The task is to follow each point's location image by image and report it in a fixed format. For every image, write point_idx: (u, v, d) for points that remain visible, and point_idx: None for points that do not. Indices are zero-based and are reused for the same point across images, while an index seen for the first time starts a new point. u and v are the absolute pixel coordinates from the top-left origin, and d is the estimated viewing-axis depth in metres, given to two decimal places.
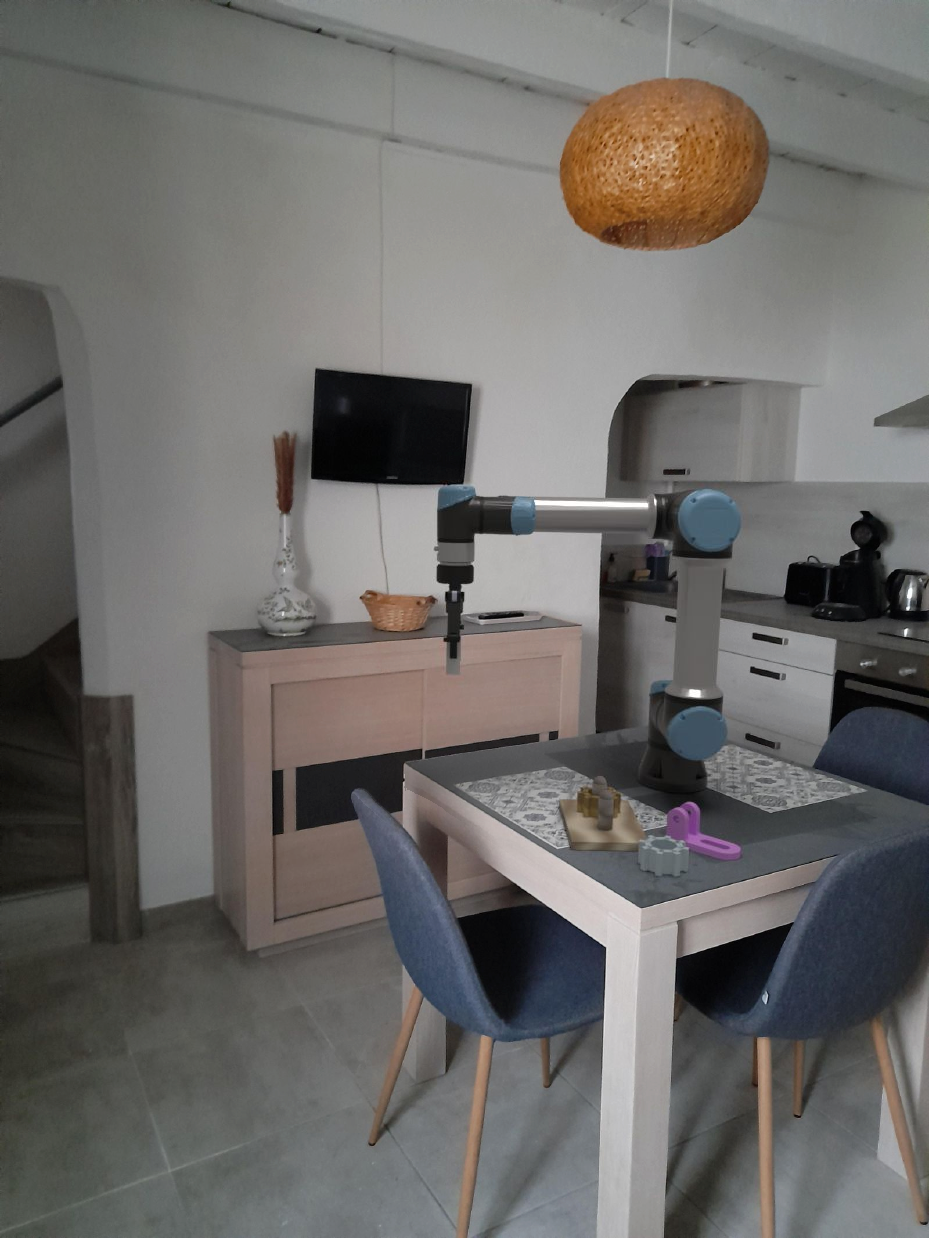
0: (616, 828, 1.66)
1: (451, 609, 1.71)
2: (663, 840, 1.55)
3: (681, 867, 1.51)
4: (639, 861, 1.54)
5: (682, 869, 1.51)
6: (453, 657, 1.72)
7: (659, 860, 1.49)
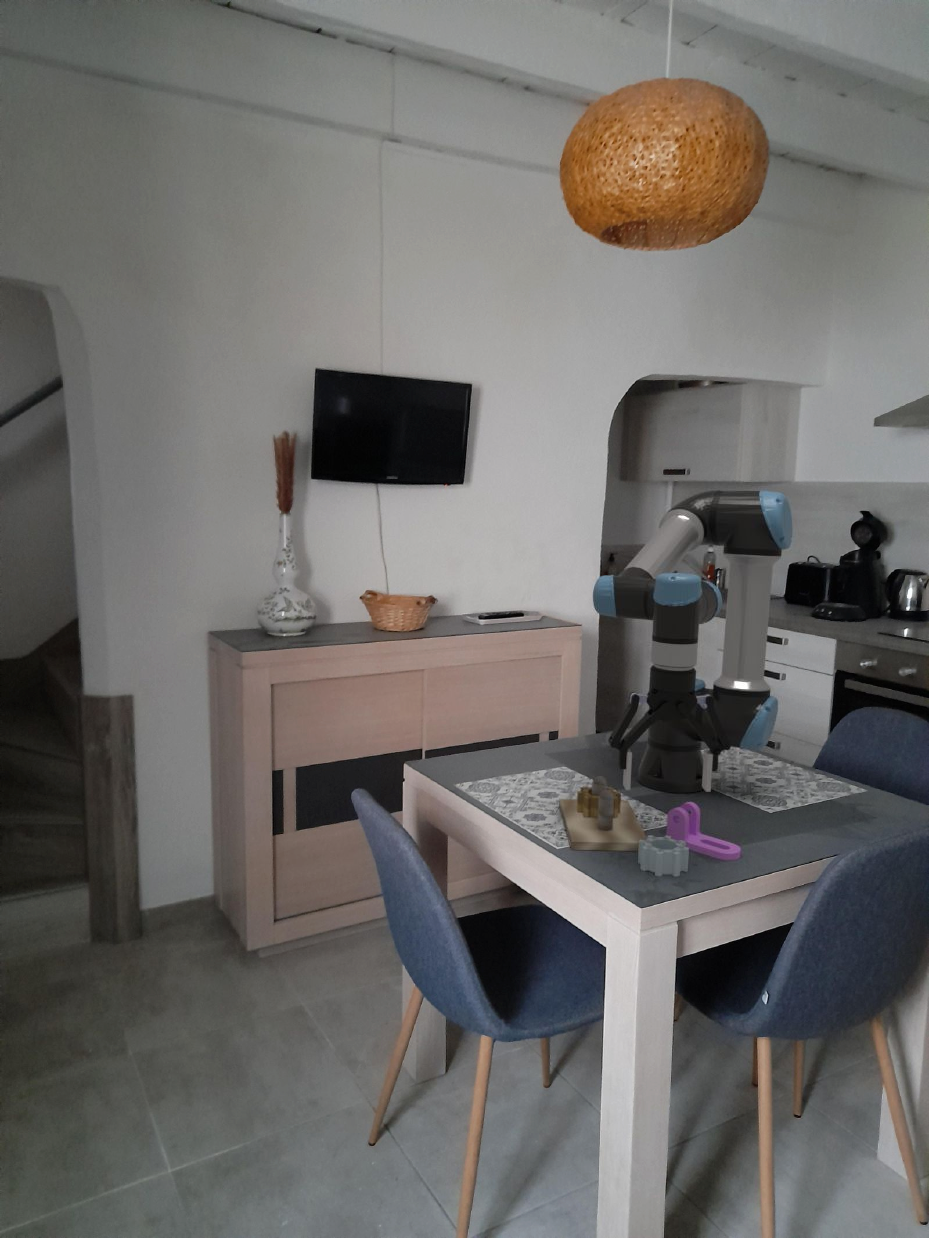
0: (616, 828, 1.66)
1: (624, 712, 1.49)
2: (663, 840, 1.55)
3: (681, 867, 1.51)
4: (639, 861, 1.54)
5: (682, 869, 1.51)
6: (619, 766, 1.50)
7: (659, 860, 1.49)
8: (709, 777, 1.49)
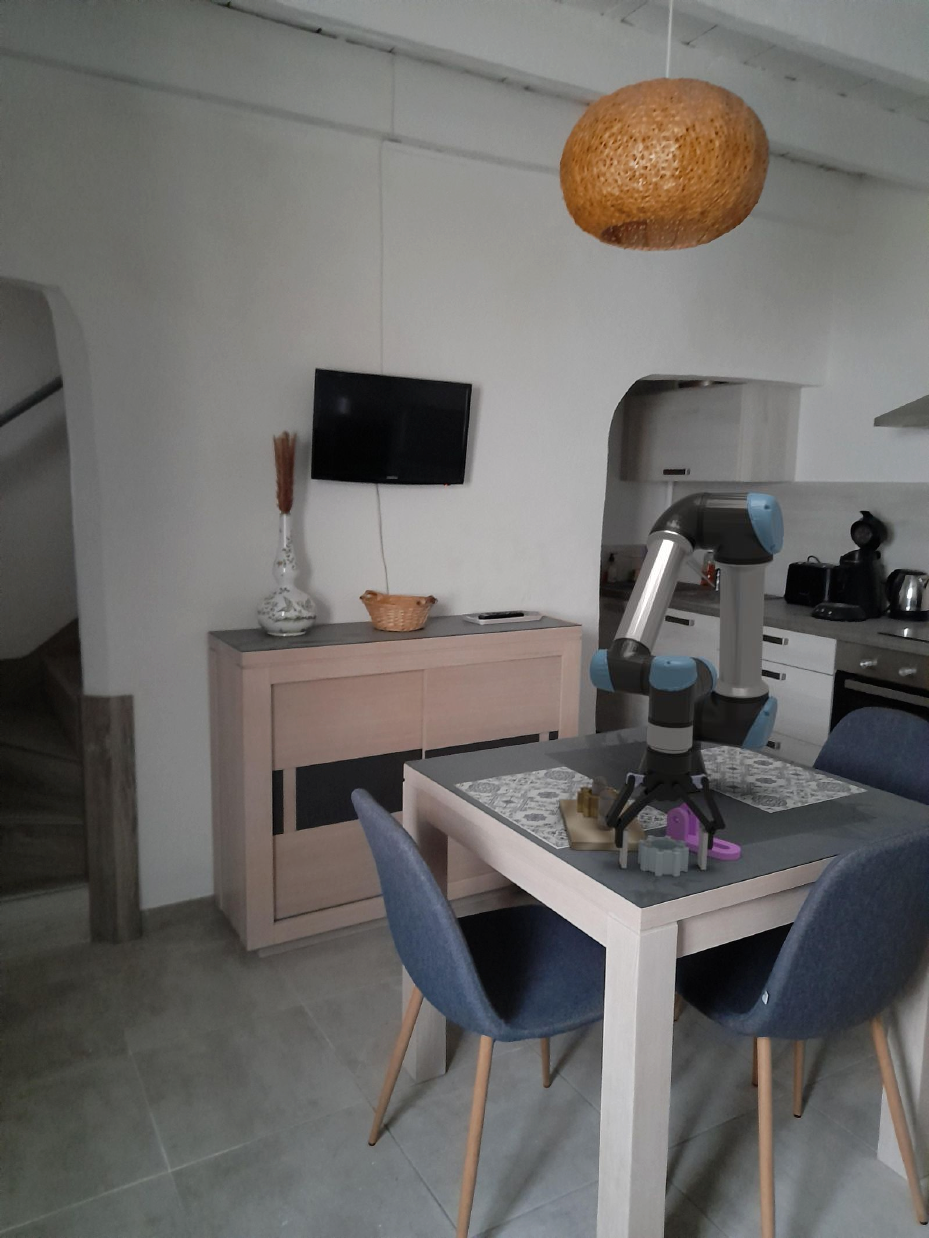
0: None
1: (621, 792, 1.52)
2: (663, 840, 1.55)
3: (681, 867, 1.51)
4: (639, 861, 1.54)
5: (682, 869, 1.51)
6: (615, 844, 1.52)
7: (659, 860, 1.49)
8: (704, 855, 1.51)
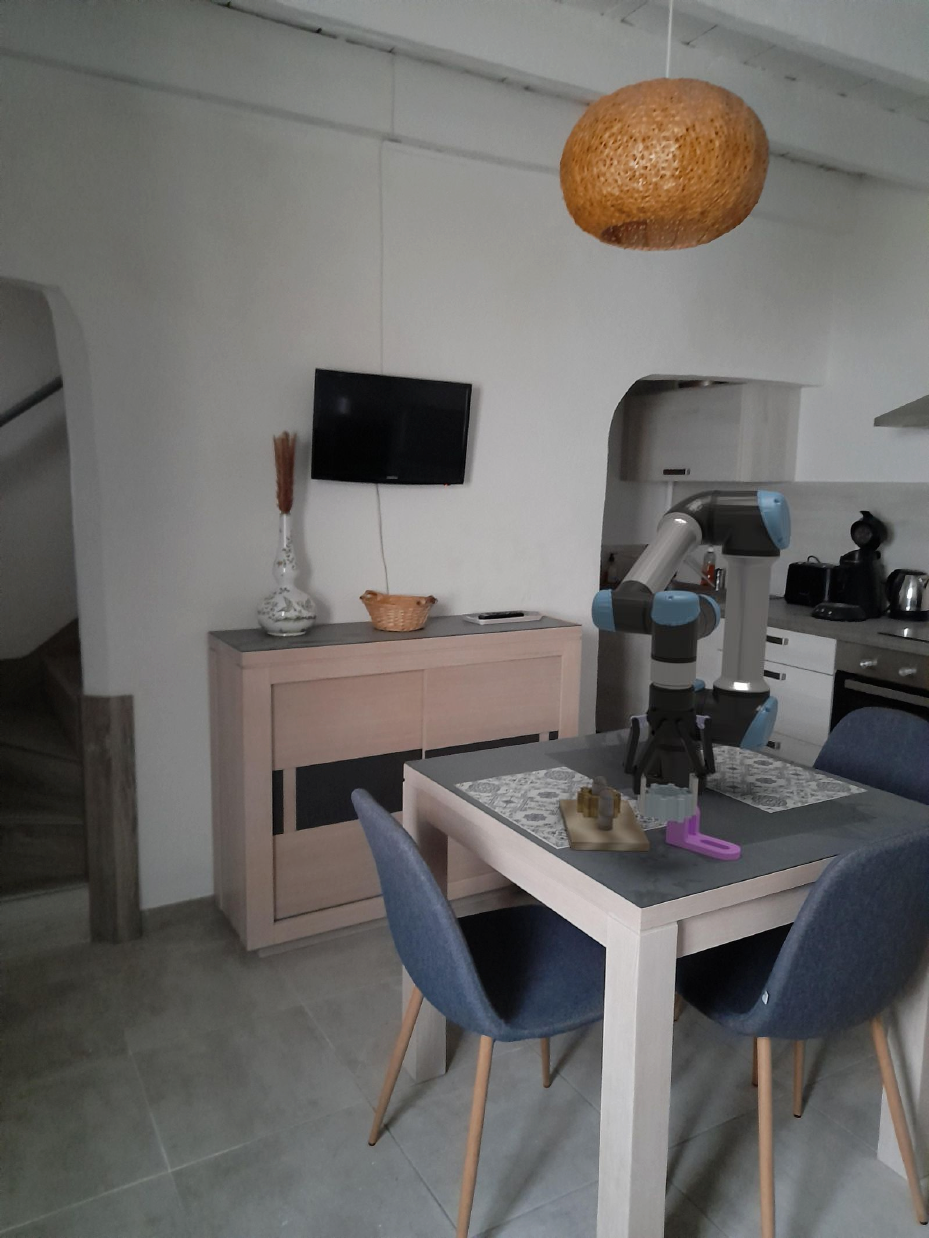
0: (616, 828, 1.66)
1: (629, 737, 1.50)
2: (667, 788, 1.54)
3: (685, 814, 1.50)
4: None
5: (686, 816, 1.50)
6: (633, 791, 1.51)
7: (663, 806, 1.48)
8: (695, 801, 1.50)
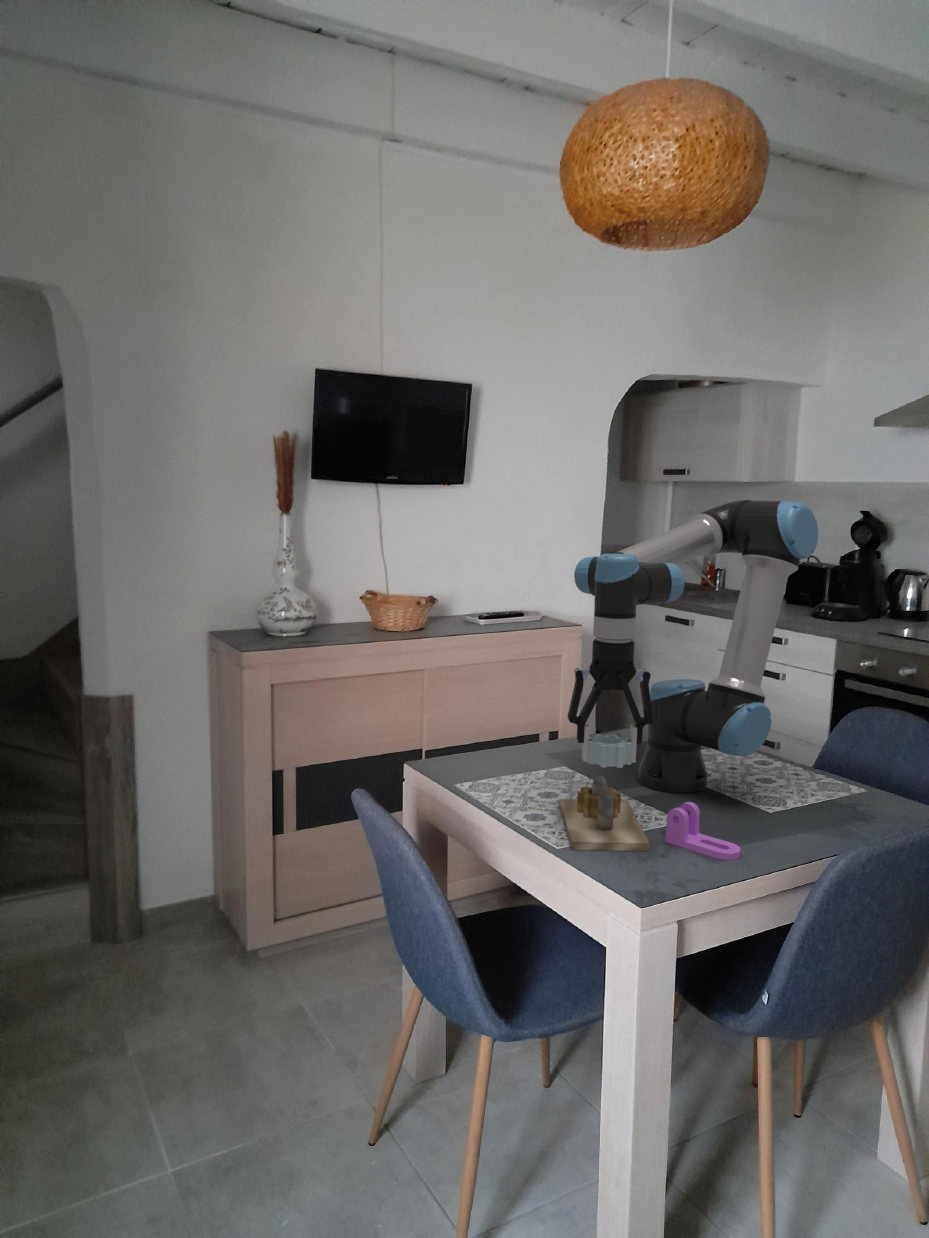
0: (616, 828, 1.66)
1: (574, 689, 1.62)
2: (609, 738, 1.66)
3: (625, 760, 1.62)
4: None
5: (626, 762, 1.62)
6: None
7: (604, 752, 1.60)
8: (634, 749, 1.62)
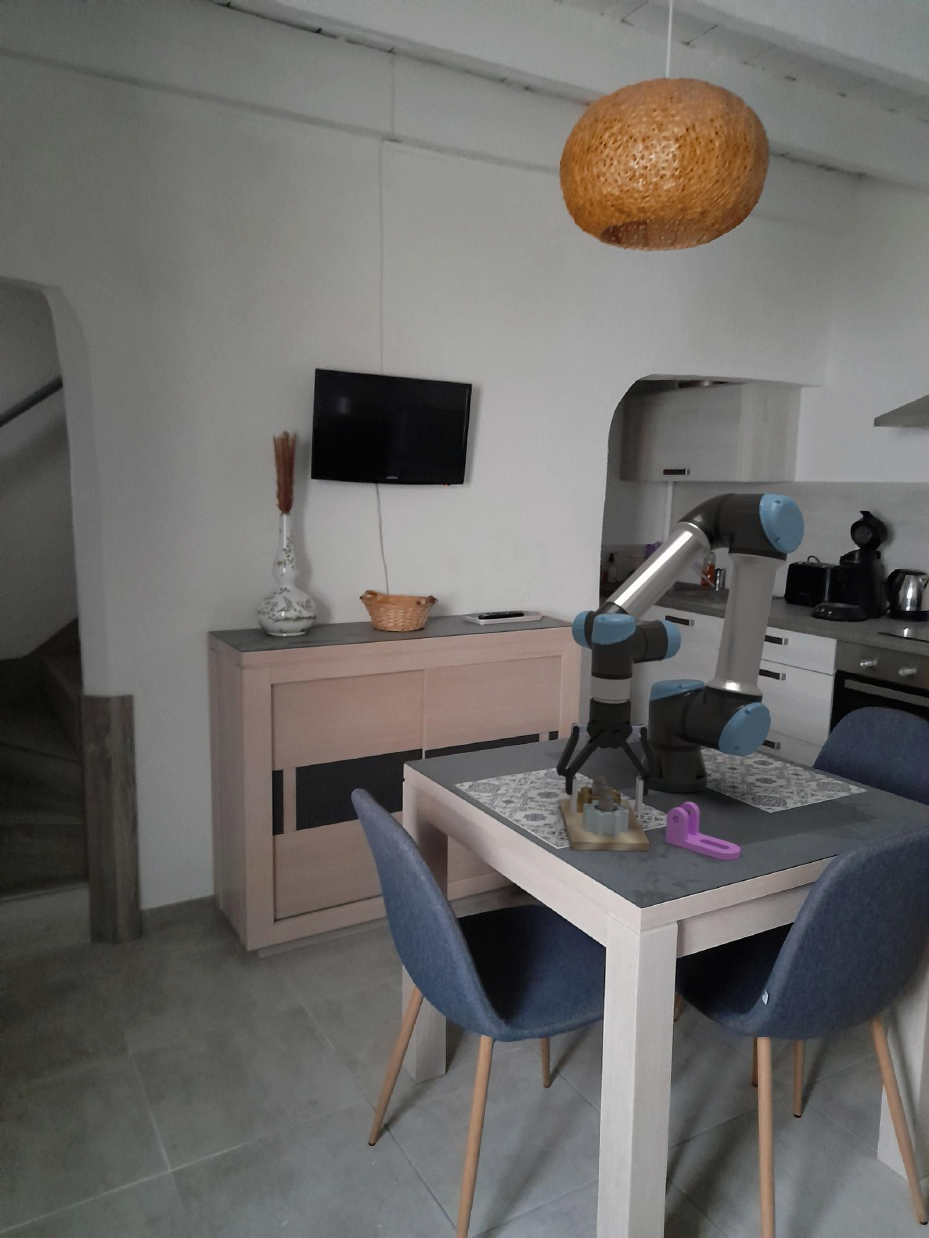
0: None
1: (568, 742, 1.64)
2: None
3: (621, 828, 1.64)
4: (584, 823, 1.67)
5: (622, 830, 1.64)
6: (566, 792, 1.65)
7: (600, 821, 1.62)
8: (640, 801, 1.64)
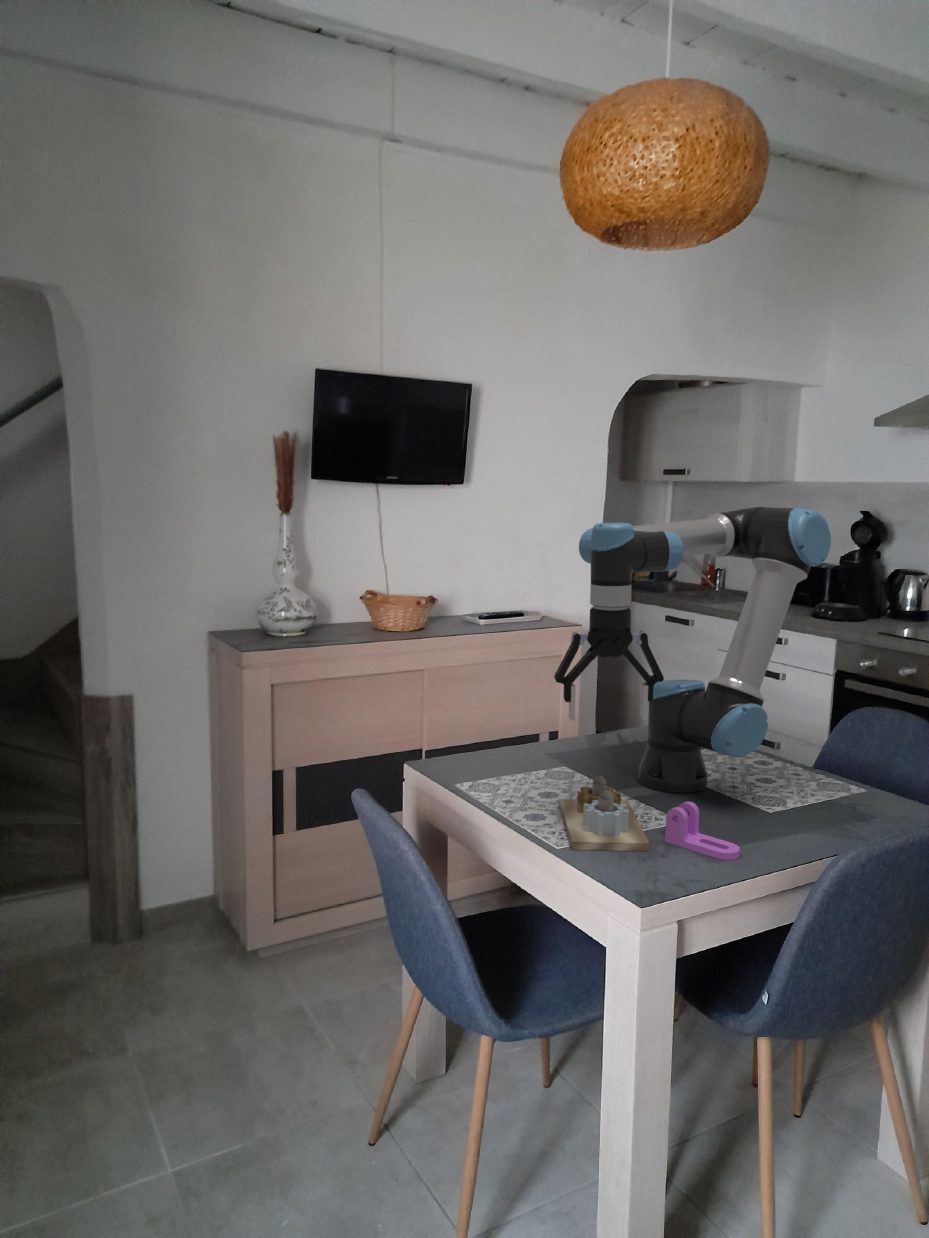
0: None
1: (568, 650, 1.65)
2: None
3: (621, 828, 1.64)
4: (584, 823, 1.67)
5: (622, 830, 1.64)
6: (564, 699, 1.66)
7: (600, 821, 1.62)
8: (645, 706, 1.65)
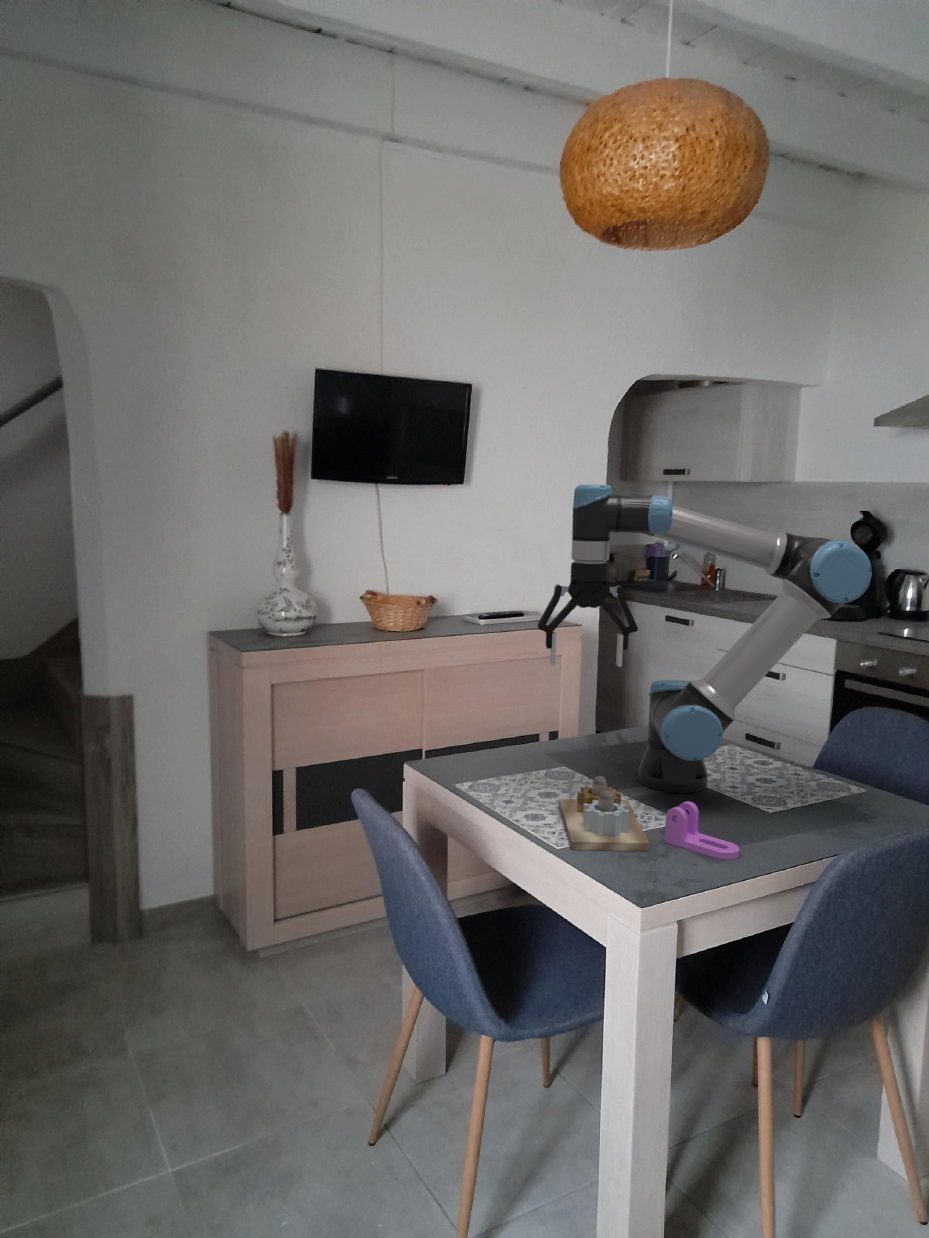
0: None
1: (550, 601, 1.80)
2: None
3: (621, 828, 1.64)
4: (584, 823, 1.67)
5: (622, 830, 1.64)
6: (546, 646, 1.81)
7: (600, 821, 1.62)
8: (620, 654, 1.80)
